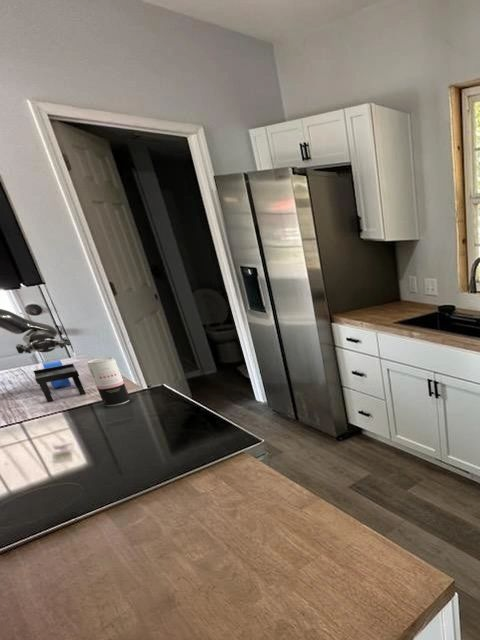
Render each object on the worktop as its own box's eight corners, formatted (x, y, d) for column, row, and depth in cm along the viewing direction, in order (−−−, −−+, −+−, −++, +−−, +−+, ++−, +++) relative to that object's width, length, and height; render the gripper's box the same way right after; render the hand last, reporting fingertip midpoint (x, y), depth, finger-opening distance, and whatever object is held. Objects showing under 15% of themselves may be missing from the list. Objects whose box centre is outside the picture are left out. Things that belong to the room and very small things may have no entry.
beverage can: (104, 402, 137) (86, 360, 132) (130, 397, 142) (114, 355, 136) (104, 408, 133) (86, 364, 128) (131, 402, 137) (114, 359, 132)
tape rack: (44, 393, 148) (33, 370, 145) (82, 385, 155) (72, 363, 152) (46, 402, 139) (35, 378, 136) (87, 393, 146) (77, 370, 143)
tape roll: (54, 390, 150) (42, 364, 146) (52, 386, 156) (41, 361, 153) (72, 386, 153) (61, 361, 150) (70, 382, 159) (59, 358, 156)
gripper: (11, 336, 160) (12, 342, 150) (63, 329, 170) (67, 334, 160) (20, 354, 163) (22, 362, 153) (71, 346, 173) (75, 353, 163)
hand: (45, 348), depth 157 cm, fingers open, 8 cm apart
